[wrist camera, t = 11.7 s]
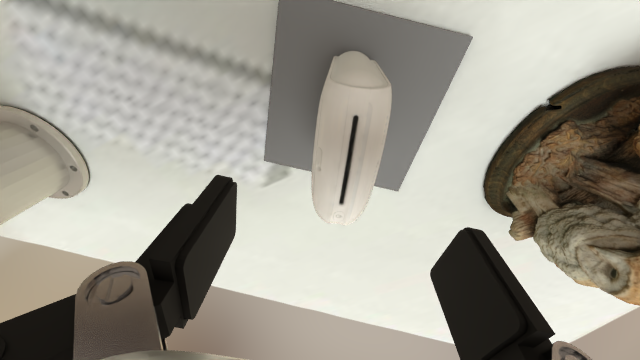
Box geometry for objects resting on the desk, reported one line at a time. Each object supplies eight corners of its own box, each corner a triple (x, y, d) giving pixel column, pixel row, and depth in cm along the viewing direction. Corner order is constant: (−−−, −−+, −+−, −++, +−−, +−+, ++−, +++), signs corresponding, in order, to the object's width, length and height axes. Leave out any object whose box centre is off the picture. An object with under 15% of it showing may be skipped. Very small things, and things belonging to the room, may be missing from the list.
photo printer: (359, 158, 27) (367, 244, 16) (320, 153, 27) (303, 235, 16) (380, 53, 21) (413, 83, 11) (330, 47, 21) (316, 72, 11)
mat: (265, 158, 28) (264, 160, 28) (281, -12, 20) (280, -13, 19) (397, 188, 29) (397, 191, 28) (470, 36, 20) (473, 36, 20)
